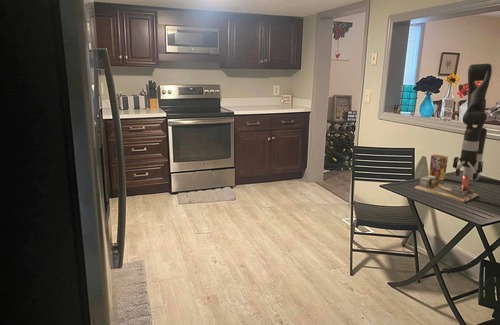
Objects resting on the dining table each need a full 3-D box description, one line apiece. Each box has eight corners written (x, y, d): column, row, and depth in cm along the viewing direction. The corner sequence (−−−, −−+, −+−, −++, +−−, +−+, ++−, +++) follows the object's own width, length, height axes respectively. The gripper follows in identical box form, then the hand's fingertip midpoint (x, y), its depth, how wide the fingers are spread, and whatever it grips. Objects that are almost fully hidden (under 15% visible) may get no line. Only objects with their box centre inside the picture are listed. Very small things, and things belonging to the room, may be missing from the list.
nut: (432, 185, 212) (433, 179, 211) (439, 187, 209) (440, 181, 208) (429, 187, 210) (429, 180, 209) (435, 188, 206) (436, 182, 205)
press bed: (429, 183, 220) (431, 173, 218) (477, 196, 197) (479, 185, 195) (414, 188, 211) (415, 178, 210) (463, 202, 189) (464, 191, 187)
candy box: (445, 179, 227) (448, 156, 223) (442, 180, 224) (445, 157, 220) (431, 176, 233) (434, 153, 229) (428, 177, 231) (431, 155, 227)
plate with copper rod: (457, 191, 202) (460, 172, 199) (469, 194, 196) (472, 175, 193) (450, 194, 198) (453, 175, 195) (462, 197, 192) (465, 178, 189)
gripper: (487, 150, 185) (483, 179, 189) (459, 145, 196) (456, 173, 201) (480, 152, 181) (476, 182, 185) (452, 147, 192) (448, 175, 197)
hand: (465, 177), depth 193 cm, fingers open, 8 cm apart
